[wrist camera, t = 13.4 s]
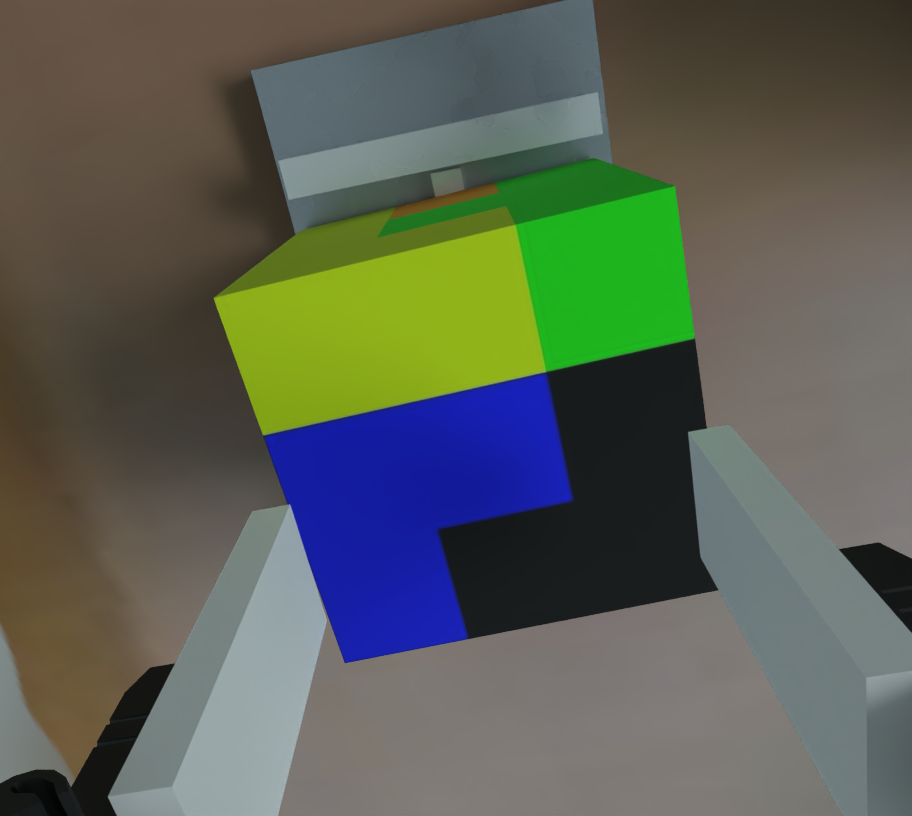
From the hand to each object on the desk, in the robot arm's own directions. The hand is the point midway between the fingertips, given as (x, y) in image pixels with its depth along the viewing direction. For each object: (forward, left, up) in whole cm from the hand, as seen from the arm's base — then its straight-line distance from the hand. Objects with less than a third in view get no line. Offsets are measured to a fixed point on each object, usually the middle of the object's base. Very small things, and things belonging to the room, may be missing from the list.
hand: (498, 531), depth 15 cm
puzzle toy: (0, 0, -14) cm, 14 cm away
